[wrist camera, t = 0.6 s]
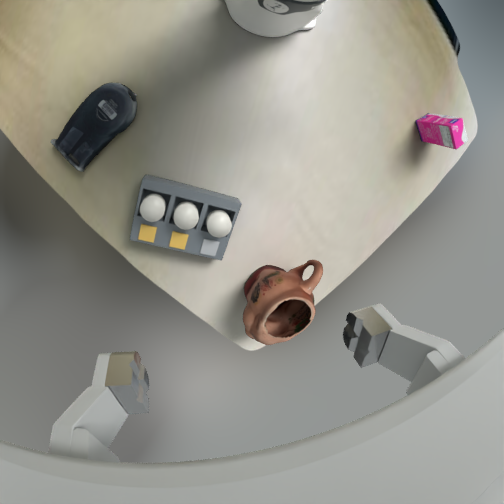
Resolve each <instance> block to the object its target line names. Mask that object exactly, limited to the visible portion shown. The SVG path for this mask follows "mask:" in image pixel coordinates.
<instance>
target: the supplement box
mask: <svg viewBox="0 0 504 504" xmlns="http://www.w3.org/2000/svg"><path fill="white" fill-rule="evenodd" d="M416 124H417V127H418V130H419V134H420V137H421V141H423V142H428V143H432V144H436V145H441V146H445V147H449V148H453V149H457V148H459V147H460V146H461V145H463V144H464V143H465V142H466V141H468V138H467V134H466V130H465V126H464V122H463V118H460V117H453V116H447V115H439V114H430V113H428V114H426V115H425V116H423V117H422V118H420V119H418V120H416Z"/></svg>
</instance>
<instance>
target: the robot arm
mask: <svg viewBox="0 0 504 504" xmlns="http://www.w3.org/2000/svg"><path fill="white" fill-rule="evenodd" d="M224 1H225V2H226V5H227V8H228V11H229V13H230V15H231V17H232V18H233V20H234V21H235V22H236V23H237V24H238V25H240V26H241V27H242V28H244V29H245V30H247V31H249V32H251V33H254V34H257V35H260V36H265V37H281V36H285V35H288V34H291V33H293V32H295V31H297V30H310V29H312V28H314V27H315V25H316V19H317V16H318V15H319V14H321V13H322V11H323V9H322V6H323V3H325V2H326V1H327V0H224ZM346 321H347V323H348V324H347V325H346V327H345V328H344V331H343V339H344V343H345V345H346V346H347V348H348V349H349V350H351V351H353V352H354V358H355V360H356V361H357V363H358V364H359V366H360V367H361V368H362V367H365V366H368V365H371V364H373V363H376V362H378V363H379V364H381V365H383V366H384V367H386V368H388V369H389V370H391V371H393V372H395V373H396V374H398V375H400V376H402V377H404V378H405V379H407V380H409V381H411V384H410V386H409V387H408V389H407V392H406V393H407V394H408V395H407V396H405V397H404V398H402V399H400V400H398V401H396V402H394V403H392V404H390V405H388V406H386V407H384V408H382V409H380V410H378V411H375V412H373V413H372V414H369V415H366V416H364V417H362V418H360V419H357V420H355V421H352V422H350V423H348V424H345V425H343V426H340V427H337V428H334V429H332V430H329V431H326V432H323V433H320V434H317V435H314V436H311V437H308V438H305V439H302V440H298V441H295V442H291V443H288V444H284V445H280V446H276V447H272V448H268V449H264V450H259V451H254V452H249V453H244V454H239V455H233V456H227V457H221V458H213V459H205V460H196V461H184V462H168V463H124V462H120V461H119V458H118V457H117V456H116V455H115V454H113V453H112V452H111V451H110V450H109V449H108V448H109V446H110V444H111V443H112V441H113V439H114V438H115V436H116V434H117V433H118V431H119V430H120V428H121V426H122V425H123V423H124V421H125V420H126V418H127V417H128V414H139V413H149V398H148V396H147V394H146V392H147V391H148V390H149V379H148V374H147V371H146V368H145V366H144V365H142V364H141V363H140V361H141V358H140V356H139V354H138V352H136V351H135V352H115V353H100V354H99V355H98V358H97V363H96V367H95V371H94V377H93V381H92V386H91V387H87V389H86V390H84V392H83V393H82V394H81V395H80V396H79V397H78V398H77V399H76V400H75V401H74V402H73V403H72V405H71V406H70V407H69V408H68V409H67V410H66V411H65V412H64V413H63V414H62V415H61V417H60V418H59V419H58V420H57V421H56V422H55V423H54V424H53V429H52V434H51V440H50V446H49V452H48V453H46V452H42V451H38V450H33V449H30V448H26V447H22V446H19V445H15V444H12V443H9V442H6V441H3V440H0V504H504V328H503V329H501V330H500V331H499V332H498V333H497V334H496V335H495V336H494V337H492V338H491V339H490V340H489V341H488V342H487V343H485V344H484V345H483V346H481V347H480V348H479V349H478V350H476V351H475V352H474V353H472V354H471V355H470V356H468V357H467V358H466V359H465V358H464V357H463V355H462V354H461V353H460V352H459V351H458V350H457V349H456V348H455V347H454V346H453V345H452V344H451V343H450V342H449V341H447V340H445V339H442V338H439V337H436V336H434V335H431V334H428V333H426V332H423V331H420V330H417V329H415V328H412V327H409V326H407V325H403V326H402V325H401V324H400V323H399V322H398V321H397V320H396V319H395V318H394V317H393V315H392V314H391V313H390V312H389V311H388V310H387V309H386V308H385V307H384V306H383V305H382V304H376V305H372V306H369V307H366V308H363V309H359V310H356V311H352V312H349V313H348V315H347V318H346Z"/></svg>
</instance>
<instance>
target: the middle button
mask: <svg viewBox="0 0 504 504" xmlns="http://www.w3.org/2000/svg"><path fill="white" fill-rule="evenodd" d="M198 220H199V215H198V209H197V207H196V206H195V205H194V204H193V203H191V202H188V201H185V202H181V203H180V204H178V205H177V206H176V208H175V211H174V222H175V224H176V225H177V227H179V228H181V229H184V230H188V229H191V228H193V227H195V226H196V224H197V223H198Z"/></svg>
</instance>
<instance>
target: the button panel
mask: <svg viewBox="0 0 504 504" xmlns="http://www.w3.org/2000/svg"><path fill="white" fill-rule="evenodd" d="M153 193H155V194H159V195H161V196H162V197H163V198H164V200H165V203H166V208H165V212H164V215H163V217H162V218H161V219H160V220H158V221H155V222H149V221H147V220H145V219H144V218H143V217H142V215H141V213H140V206H141V204H142V202H143V200H144V198H145V197H146V196H147V195H149V194H153ZM185 201H188V202H191V203H193V204H194V205H195V206H196V207H197V209H198V215H199V220H198V223H197V224H196V226H195V227H193V228H191V229H188V230H184V229H181V228H179V227H177V225H176V224H175V222H174V211H175V208H176V206H177V205H178V204H180V203H181V202H185ZM240 207H241V202H240V201H239V199H238V198H235V197H231V196H227V195H224V194H220V193H217V192H213V191H209V190H206V189H202V188H198V187H194V186H191V185H187V184H183V183H179V182H175V181H171V180H167V179H163V178H159V177H155V176H151V175H147V174H146V175H145V176H144V177H143V179H142V183H141V187H140V192H139V196H138V200H137V205H136V210H135V214H134V219H133V225H132V230H131V235H130V240H133V241H137V242H141V243H146V244H150V245H154V246H159V247H163V248H168V249H172V250H177V251H181V252H186V253H190V254H195V255H199V256H204V257H208V258H213V259H218V260H222V258H223V255H224V252H225V250H226V247H227V244H228V241H229V238H230V235H231V232H232V230H233V227H234V224H235V221H236V218H237V215H238V213H239V210H240ZM214 210H223V211H225V212H226V213H227V214H228V216H229V218H230V220H231V223H232V228H231V231H230V232H229V233H228V234H227V235H226V236H224V237H220V238H218V237H214V236H212V235H211V234H210V233H209V232H208V229H207V224H206V219H207V216H208V215H209V213H211V212H212V211H214Z"/></svg>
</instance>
